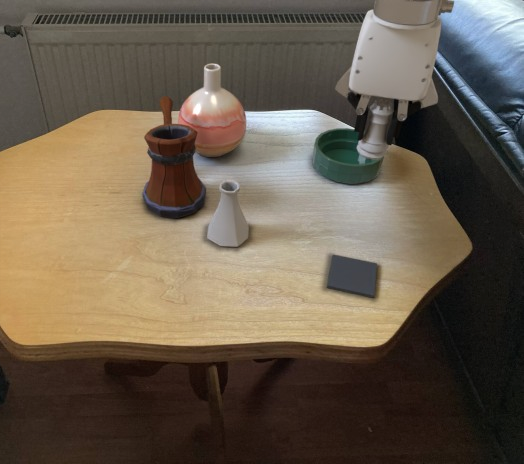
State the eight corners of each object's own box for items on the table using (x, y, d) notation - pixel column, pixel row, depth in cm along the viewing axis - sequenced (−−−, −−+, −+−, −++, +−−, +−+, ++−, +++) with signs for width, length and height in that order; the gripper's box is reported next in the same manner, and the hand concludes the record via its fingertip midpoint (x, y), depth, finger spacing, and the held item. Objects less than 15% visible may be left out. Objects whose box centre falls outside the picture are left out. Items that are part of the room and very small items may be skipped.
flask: (199, 241, 85) (199, 193, 78) (216, 215, 90) (216, 168, 83) (240, 253, 83) (243, 205, 76) (255, 225, 88) (259, 178, 81)
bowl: (381, 153, 105) (386, 134, 102) (377, 191, 95) (383, 171, 92) (316, 142, 107) (319, 124, 104) (307, 178, 98) (310, 159, 95)
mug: (140, 163, 101) (133, 93, 91) (198, 159, 103) (197, 89, 93) (144, 222, 88) (135, 148, 78) (210, 217, 89) (210, 143, 79)
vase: (248, 166, 101) (254, 82, 89) (179, 168, 100) (175, 84, 88) (241, 130, 111) (245, 50, 99) (178, 132, 110) (174, 52, 98)
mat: (376, 265, 81) (377, 263, 81) (373, 298, 76) (374, 295, 76) (332, 256, 82) (332, 254, 82) (326, 288, 77) (327, 285, 77)
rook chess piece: (385, 145, 77) (398, 96, 72) (387, 162, 74) (401, 112, 69) (355, 142, 78) (366, 94, 72) (356, 159, 75) (367, 109, 69)
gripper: (477, 3, 63) (434, 134, 75) (341, -9, 67) (321, 117, 79) (481, 25, 57) (434, 161, 70) (333, 10, 61) (313, 142, 73)
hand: (374, 137), depth 74 cm, fingers closed on rook chess piece, 3 cm apart
